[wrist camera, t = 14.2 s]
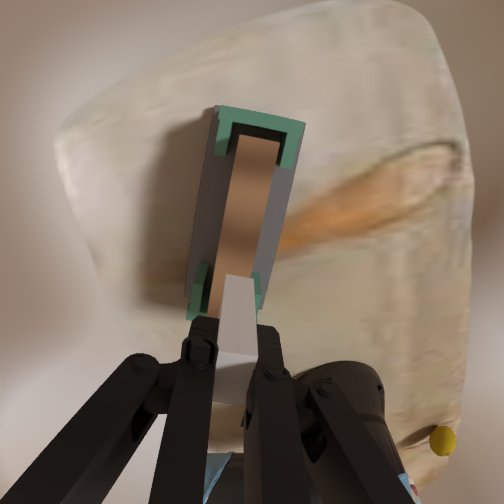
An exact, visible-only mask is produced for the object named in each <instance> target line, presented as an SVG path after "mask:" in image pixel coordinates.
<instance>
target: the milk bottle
mask: <svg viewBox="0 0 504 504" xmlns="http://www.w3.org/2000/svg"><path fill="white" fill-rule="evenodd" d="M408 480H409V484H410V488H411V492H412V496H413V500H414V502H415V503H416V504H421V501H420V498H419V496H418V493H417V490H416V487H415V485H414V482H413V480H412V478H411V477H408Z"/></svg>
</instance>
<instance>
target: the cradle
mask: <svg viewBox="0 0 504 504" xmlns="http://www.w3.org/2000/svg"><path fill="white" fill-rule="evenodd" d="M305 125H306V123H304V122H301V121H297V120H293V119H289V118H284V117H280V116H275V115H271V114H266V113H261V112H256V111H251V110H245V109H240V108H234V107H228V106H222V105H221V106H219V105H215V108H214V113H213V118H212V123H211V128H210V133H209V138H208V143H207V149H206V154H205V160H204V165H203V171H202V177H201V183H200V189H199V195H198V201H197V207H196V214H195V220H194V227H193V233H192V240H191V248H190V255H189V262H188V270H187V278H186V286H185V294H184V296H185V297H191V299H190V302H189V306H188V309H187V317H186V320H191V321H192V320H193V319H194V318H195V317H197V316H198V315H200V316H206V317H207V312H208V305H209V299H210V293H211V287H212V281H213V275H214V269H215V263H216V258H217V252H218V246H219V240H220V235H221V229H222V224H223V218H224V213H225V207H226V202H227V197H228V191H229V186H230V181H231V176H232V171H233V166H234V161H235V155H236V151H237V146H238V141H239V136H240V134H243V135H248V136H253V137H258V138H263V139H268V140H272V141H276V142H279V143H280V146H279V150H278V155H277V159H276V164H275V168H274V173H273V178H272V182H271V187H270V191H269V196H268V200H267V205H266V209H265V214H264V218H263V223H262V227H261V232H260V237H259V241H258V246H257V250H256V255H255V259H254V264H253V268H252V273H251V277H250V278H252V279H254V292H255V309H256V324H257V313H258V309H260V310H262V307H263V303H264V299H265V295H266V291H267V287H268V283H269V279H270V275H271V271H272V266H273V262H274V258H275V254H276V250H277V246H278V242H279V238H280V234H281V229H282V225H283V221H284V217H285V213H286V208H287V204H288V200H289V196H290V191H291V187H292V183H293V178H294V174H295V170H296V165H297V161H298V156H299V152H300V147H301V143H302V138H303V134H304V129H305Z"/></svg>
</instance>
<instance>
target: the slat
mask: <svg viewBox="0 0 504 504" xmlns="http://www.w3.org/2000/svg"><path fill="white" fill-rule="evenodd" d="M279 146H280V143H279V142H276V141H272V140H268V139H263V138H258V137H253V136H248V135H243V134H240V136H239V141H238V146H237V151H236V155H235V161H234V166H233V171H232V176H231V181H230V186H229V191H228V197H227V202H226V207H225V213H224V218H223V224H222V229H221V235H220V240H219V246H218V252H217V258H216V263H215V269H214V275H213V281H212V287H211V293H210V299H209V305H208V312H207V317H212V318H217V319H218V316H219V310H220V304H221V299H222V293H223V288H224V283H225V277H226V274H229V275H235V276H240V277H246V278H250V277H251V273H252V268H253V264H254V259H255V255H256V250H257V246H258V241H259V237H260V232H261V227H262V223H263V218H264V214H265V209H266V205H267V200H268V196H269V191H270V187H271V182H272V178H273V173H274V168H275V164H276V159H277V155H278V150H279Z"/></svg>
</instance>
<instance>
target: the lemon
mask: <svg viewBox="0 0 504 504" xmlns="http://www.w3.org/2000/svg"><path fill="white" fill-rule="evenodd" d="M429 443H430V447H431V449H432V450H433V452H434V453H435V454H437V455H438V456H446V455H448V456H449V455H450V454H451V452H452V451H453V450H454V449H455V446H456V437H455V434H454V432H453V431H452V429H450V428H449V427H447V426H440V427H435V428H434V430H433V432H432V433H431V435H430V438H429Z"/></svg>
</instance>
